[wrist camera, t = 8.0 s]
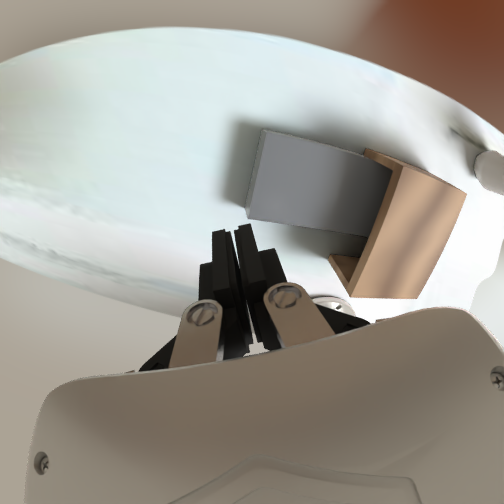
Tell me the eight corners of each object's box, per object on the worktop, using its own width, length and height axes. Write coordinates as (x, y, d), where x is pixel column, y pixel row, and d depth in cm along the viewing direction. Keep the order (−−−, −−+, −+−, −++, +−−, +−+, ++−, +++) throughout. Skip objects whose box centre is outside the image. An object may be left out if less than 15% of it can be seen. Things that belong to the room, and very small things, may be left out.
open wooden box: (429, 172, 27) (467, 193, 22) (390, 266, 34) (416, 298, 28) (365, 147, 25) (403, 165, 19) (327, 259, 32) (350, 297, 26)
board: (397, 166, 27) (412, 174, 25) (375, 228, 31) (387, 240, 29) (261, 128, 24) (266, 132, 21) (244, 206, 28) (247, 218, 25)
